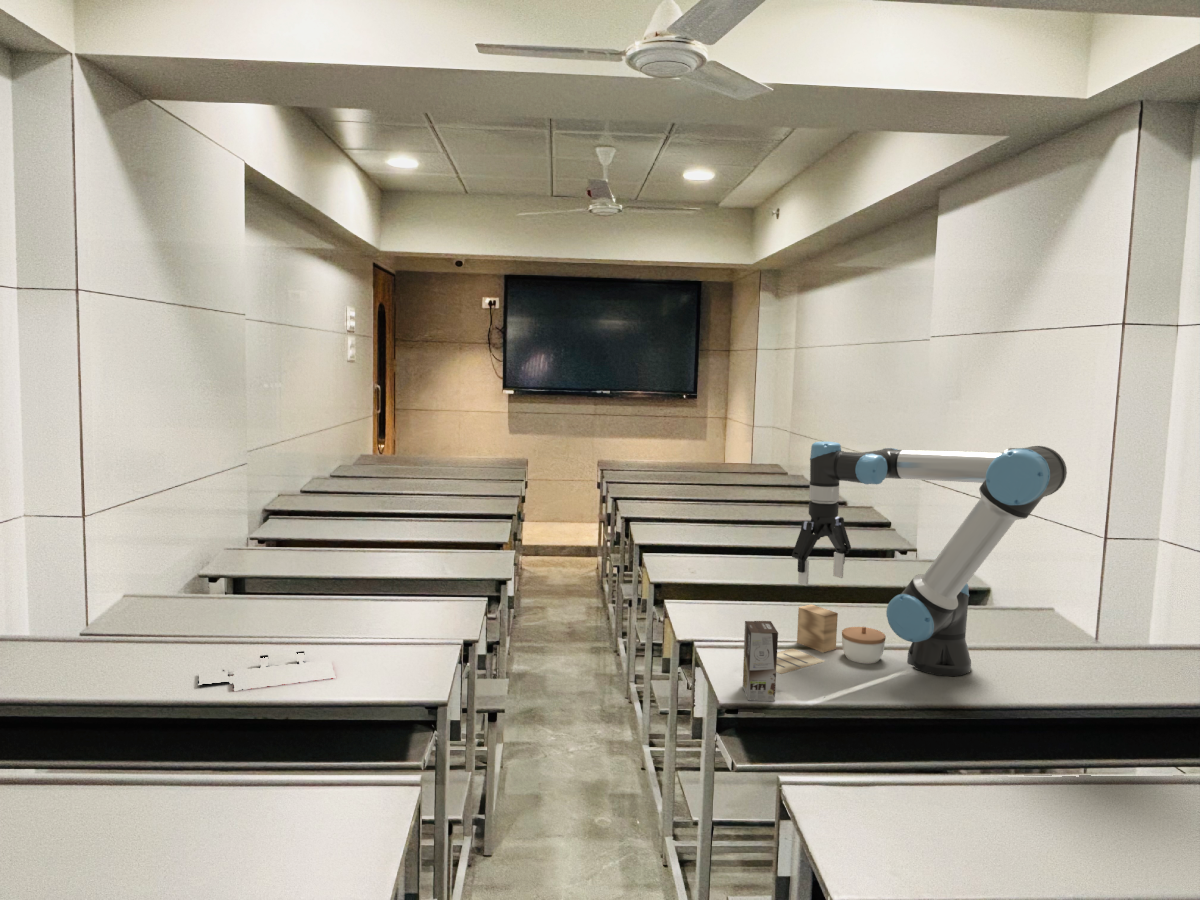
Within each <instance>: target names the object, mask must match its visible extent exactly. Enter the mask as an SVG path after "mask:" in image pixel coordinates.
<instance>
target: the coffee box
mask: <svg viewBox="0 0 1200 900" xmlns="http://www.w3.org/2000/svg"><path fill="white" fill-rule="evenodd" d="M743 639H744V640H743V667H742V670H743V671H742V687H743V690H744V693H745V696H746V698H747V700H748V701H757V702H758V701H759V702H761V701H762V702H775V701H776V700H775V699H776V682H777V672H776V665H777V652H778V646H779V645H778V642H779V632H778V630H777V629H776V627H775V625H774V624H773V622H772V621H770V620H745V621H744V638H743Z"/></svg>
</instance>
